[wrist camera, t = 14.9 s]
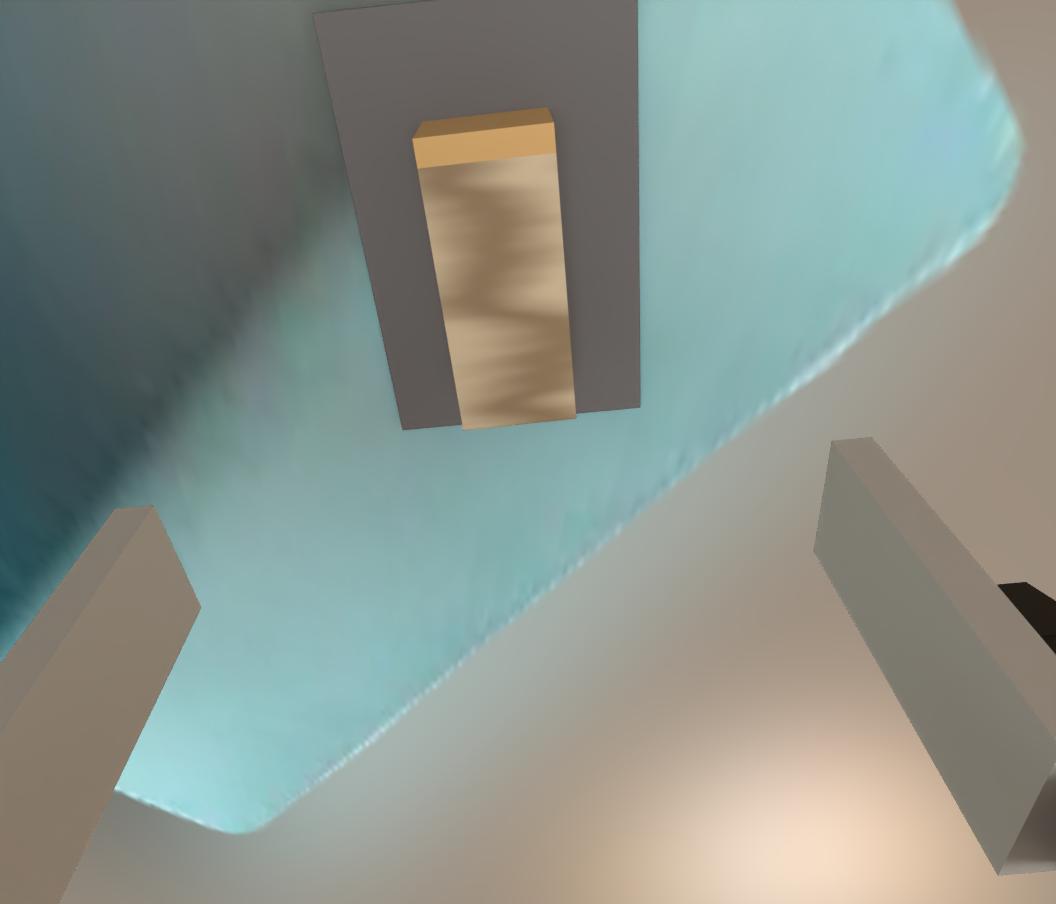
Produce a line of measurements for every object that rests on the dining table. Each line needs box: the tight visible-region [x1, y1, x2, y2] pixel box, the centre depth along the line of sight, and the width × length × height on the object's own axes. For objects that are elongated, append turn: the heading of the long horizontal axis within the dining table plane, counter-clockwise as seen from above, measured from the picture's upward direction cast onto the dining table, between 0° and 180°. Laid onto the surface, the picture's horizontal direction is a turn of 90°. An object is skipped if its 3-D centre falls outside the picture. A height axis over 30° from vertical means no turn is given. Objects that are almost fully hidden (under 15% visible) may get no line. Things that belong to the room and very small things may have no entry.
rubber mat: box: [313, 0, 640, 430], centre depth 31 cm, size 12×18×1 cm, turn 5°
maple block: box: [412, 107, 576, 430], centre depth 30 cm, size 5×4×12 cm
